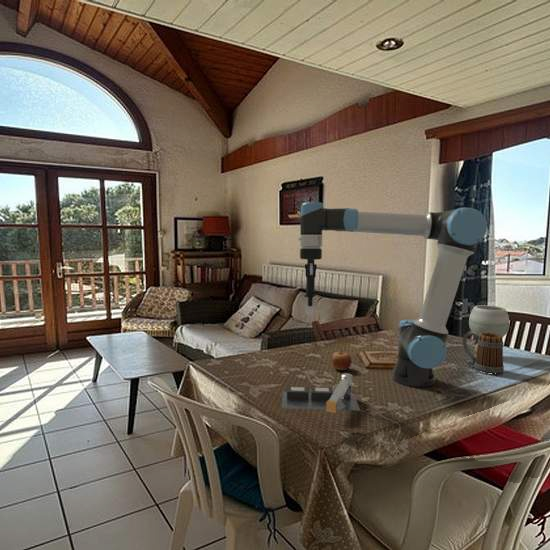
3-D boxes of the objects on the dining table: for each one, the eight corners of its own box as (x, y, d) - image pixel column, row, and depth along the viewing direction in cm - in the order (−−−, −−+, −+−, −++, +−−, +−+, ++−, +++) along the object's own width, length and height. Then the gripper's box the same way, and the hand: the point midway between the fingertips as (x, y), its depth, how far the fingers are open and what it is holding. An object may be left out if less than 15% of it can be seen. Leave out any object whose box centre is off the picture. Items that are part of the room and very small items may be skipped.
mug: (506, 370, 161) (509, 334, 159) (499, 377, 153) (502, 339, 151) (465, 362, 171) (467, 328, 170) (457, 368, 164) (459, 332, 162)
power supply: (331, 394, 133) (331, 386, 132) (333, 400, 128) (333, 392, 127) (310, 393, 133) (311, 386, 133) (311, 399, 128) (311, 392, 128)
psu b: (307, 393, 133) (308, 386, 133) (308, 399, 128) (308, 392, 128) (287, 392, 133) (287, 385, 133) (286, 399, 128) (287, 391, 128)
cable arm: (342, 381, 132) (342, 372, 131) (353, 383, 130) (353, 374, 130) (324, 412, 109) (324, 401, 109) (337, 414, 108) (337, 403, 107)
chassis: (353, 396, 133) (354, 382, 133) (360, 414, 120) (360, 397, 120) (282, 394, 134) (282, 380, 134) (281, 412, 122) (281, 395, 121)
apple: (336, 364, 166) (337, 346, 165) (354, 368, 162) (354, 349, 161) (327, 369, 160) (328, 350, 159) (345, 374, 155) (346, 354, 154)
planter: (513, 357, 178) (517, 308, 176) (495, 363, 169) (499, 312, 167) (478, 348, 192) (481, 303, 189) (459, 354, 183) (462, 306, 180)
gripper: (299, 247, 143) (298, 311, 145) (300, 248, 130) (299, 318, 132) (320, 247, 143) (319, 311, 145) (323, 248, 130) (321, 319, 132)
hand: (309, 314), depth 139 cm, fingers closed
